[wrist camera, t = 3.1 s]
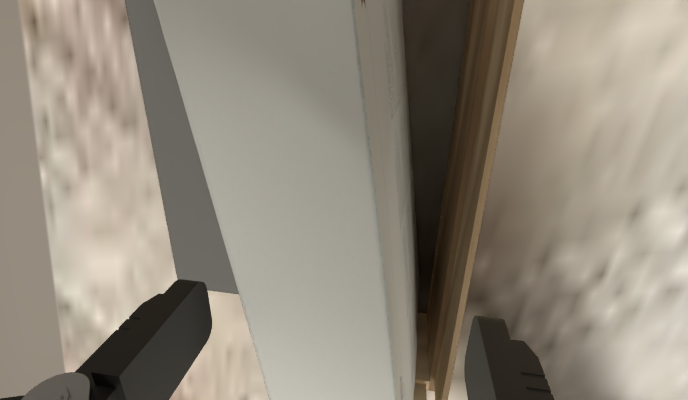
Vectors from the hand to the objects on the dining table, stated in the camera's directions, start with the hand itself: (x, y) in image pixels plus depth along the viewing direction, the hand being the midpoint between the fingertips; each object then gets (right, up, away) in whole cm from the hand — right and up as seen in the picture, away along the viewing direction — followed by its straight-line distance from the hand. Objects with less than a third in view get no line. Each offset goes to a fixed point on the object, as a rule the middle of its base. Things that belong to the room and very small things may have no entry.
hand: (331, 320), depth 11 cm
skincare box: (+2, +7, +15) cm, 16 cm away
